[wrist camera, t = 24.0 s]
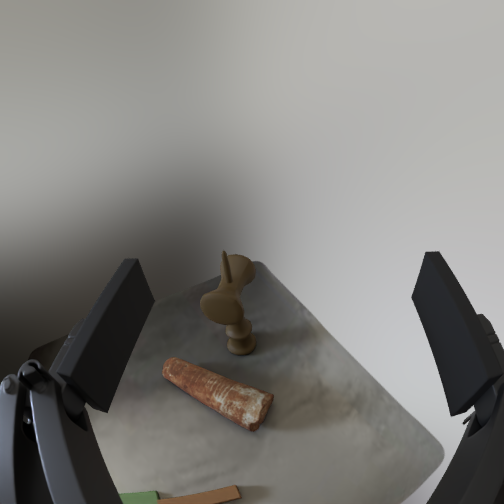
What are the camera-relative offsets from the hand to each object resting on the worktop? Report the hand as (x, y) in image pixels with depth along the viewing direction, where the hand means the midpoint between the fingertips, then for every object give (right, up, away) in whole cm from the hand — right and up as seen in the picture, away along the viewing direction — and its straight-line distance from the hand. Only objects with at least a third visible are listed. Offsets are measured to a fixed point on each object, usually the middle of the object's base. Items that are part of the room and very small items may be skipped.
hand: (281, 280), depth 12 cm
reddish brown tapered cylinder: (-7, -21, +27) cm, 35 cm away
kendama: (-3, -15, +36) cm, 39 cm away
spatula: (-11, -32, +12) cm, 36 cm away
